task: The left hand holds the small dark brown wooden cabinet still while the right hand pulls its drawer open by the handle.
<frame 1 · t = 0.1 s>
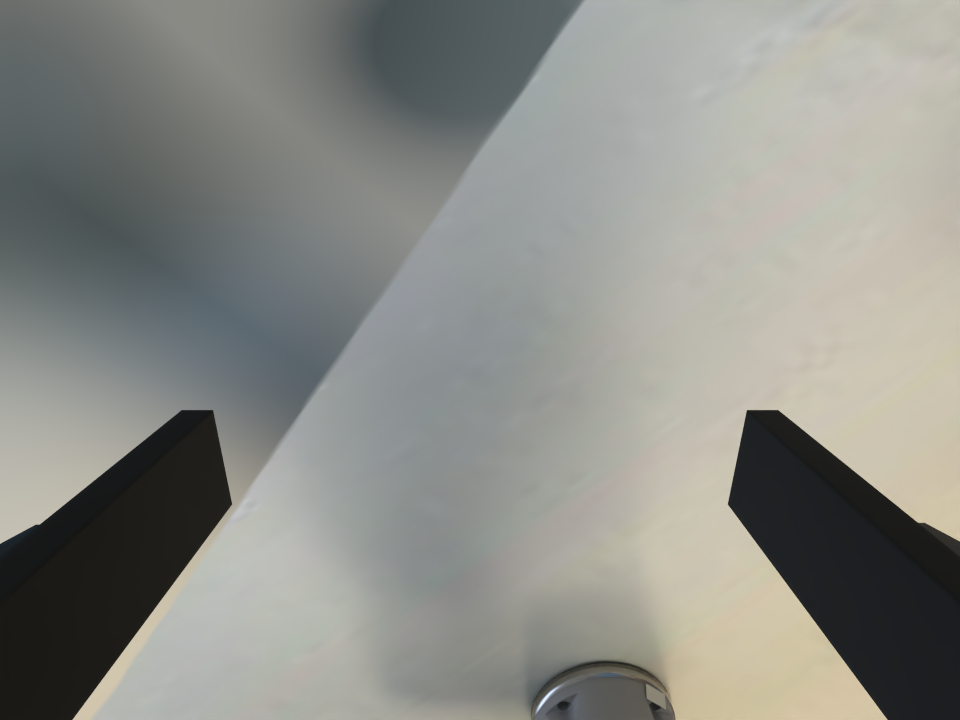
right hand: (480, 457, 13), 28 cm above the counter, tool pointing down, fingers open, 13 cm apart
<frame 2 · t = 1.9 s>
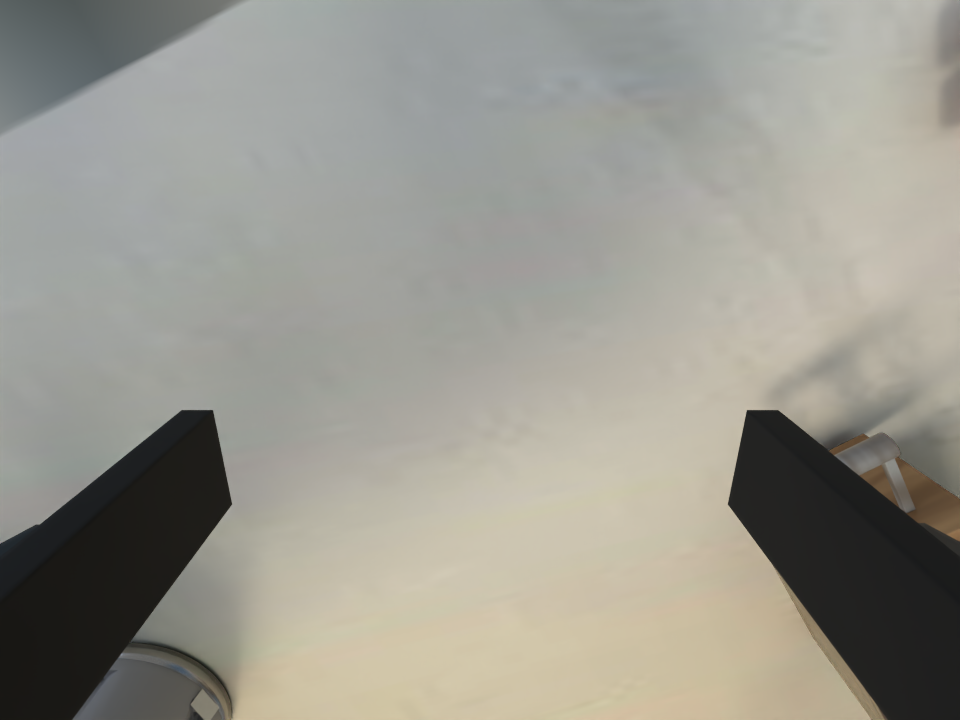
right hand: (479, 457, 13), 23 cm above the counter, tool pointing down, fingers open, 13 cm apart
cabinet: (841, 553, 43), on the counter
drawer: (867, 548, 35), point 6 cm above the counter, slide at 1.8 cm
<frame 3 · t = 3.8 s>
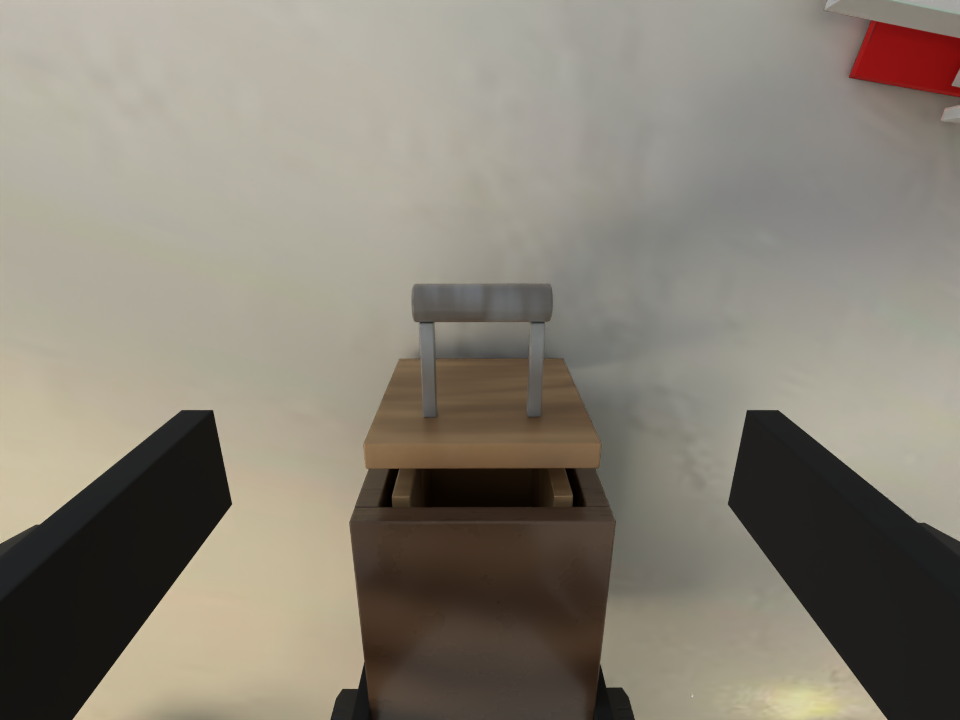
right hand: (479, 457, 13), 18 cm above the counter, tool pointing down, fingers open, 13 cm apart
cabinet: (481, 507, 34), on the counter, touching left hand
drawer: (481, 472, 26), point 6 cm above the counter, slide at 1.8 cm
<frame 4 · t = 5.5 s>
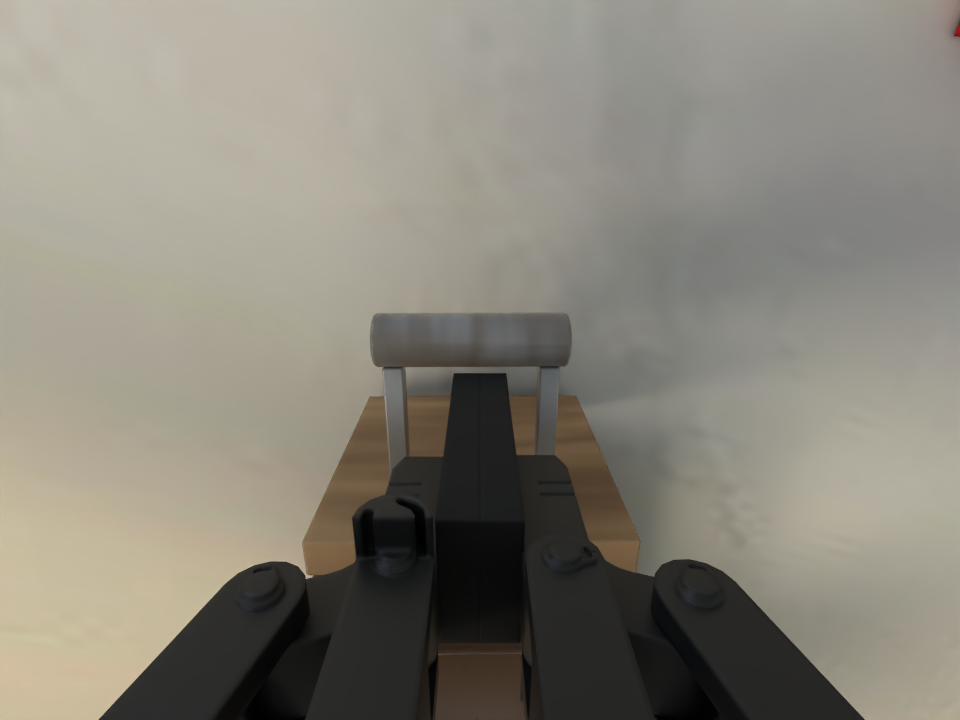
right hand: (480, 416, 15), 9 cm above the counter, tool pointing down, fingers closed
cabinet: (474, 570, 28), on the counter, touching left hand
drawer: (473, 549, 20), point 6 cm above the counter, slide at 1.8 cm, touching right hand
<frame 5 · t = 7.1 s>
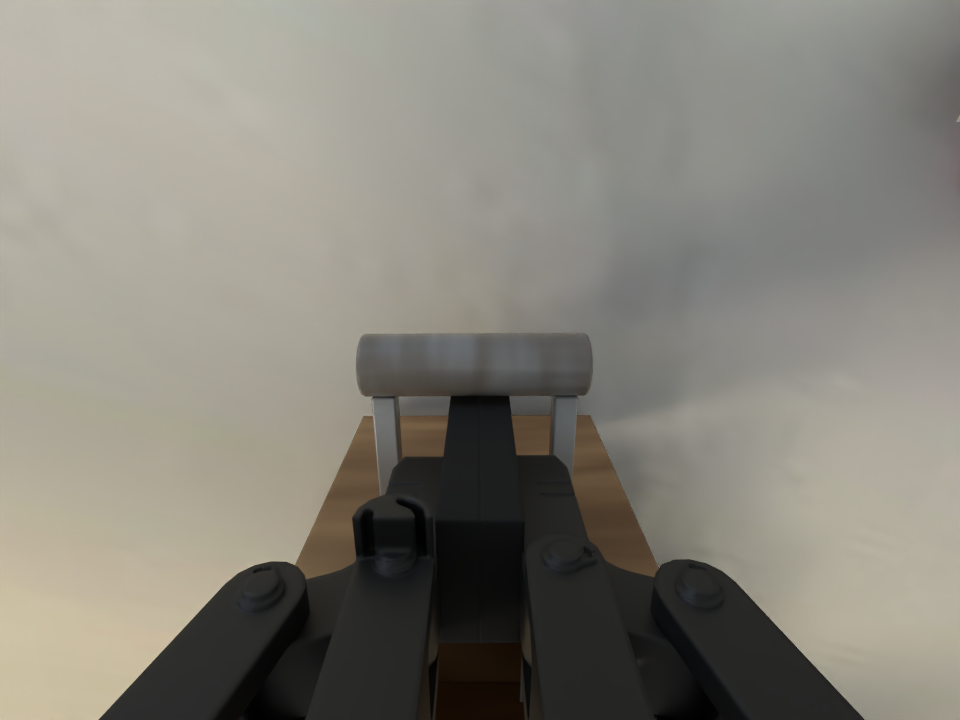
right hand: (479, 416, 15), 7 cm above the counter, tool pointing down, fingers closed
drawer: (477, 589, 18), point 6 cm above the counter, slide at 7.4 cm, touching right hand
when the left hand's fingers open (7 cm above the counter, at t = 8.9 s): cabinet stays where it is, on the counter.
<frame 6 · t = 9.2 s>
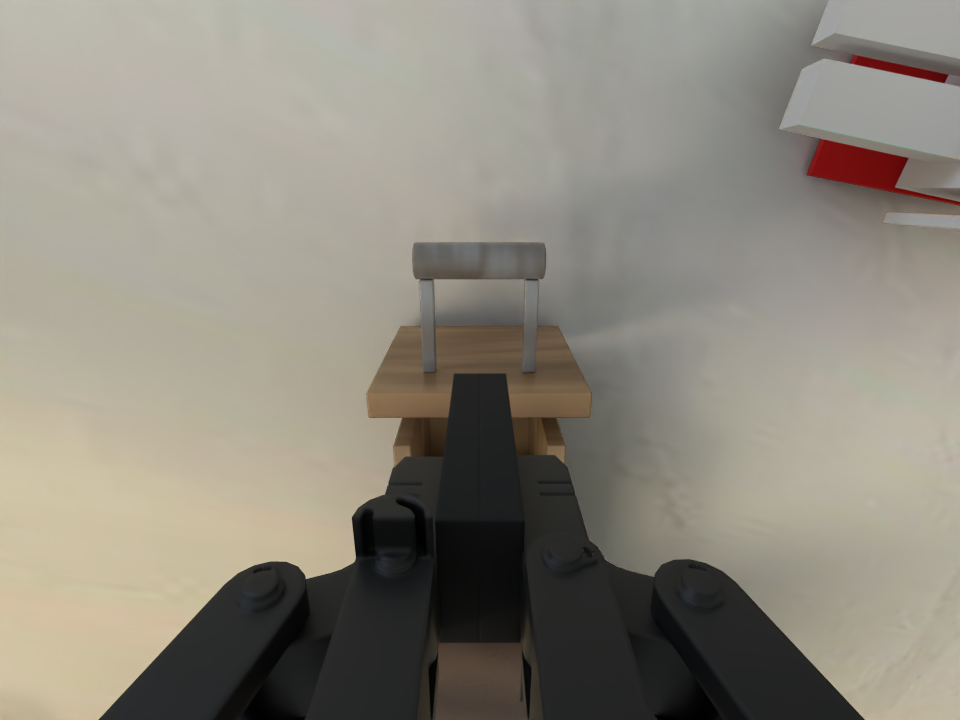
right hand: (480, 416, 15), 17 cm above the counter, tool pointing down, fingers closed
cabinet: (479, 541, 37), on the counter
drawer: (479, 431, 28), point 6 cm above the counter, slide at 7.5 cm
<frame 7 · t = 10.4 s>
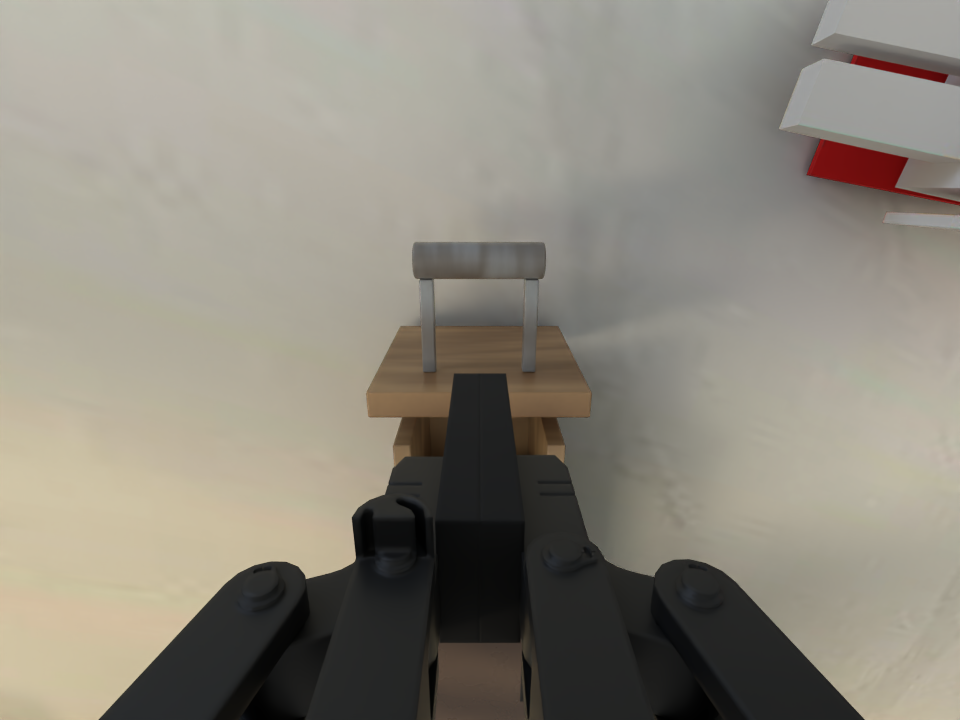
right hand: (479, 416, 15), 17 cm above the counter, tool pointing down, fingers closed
cabinet: (479, 541, 37), on the counter
drawer: (479, 431, 28), point 6 cm above the counter, slide at 7.5 cm
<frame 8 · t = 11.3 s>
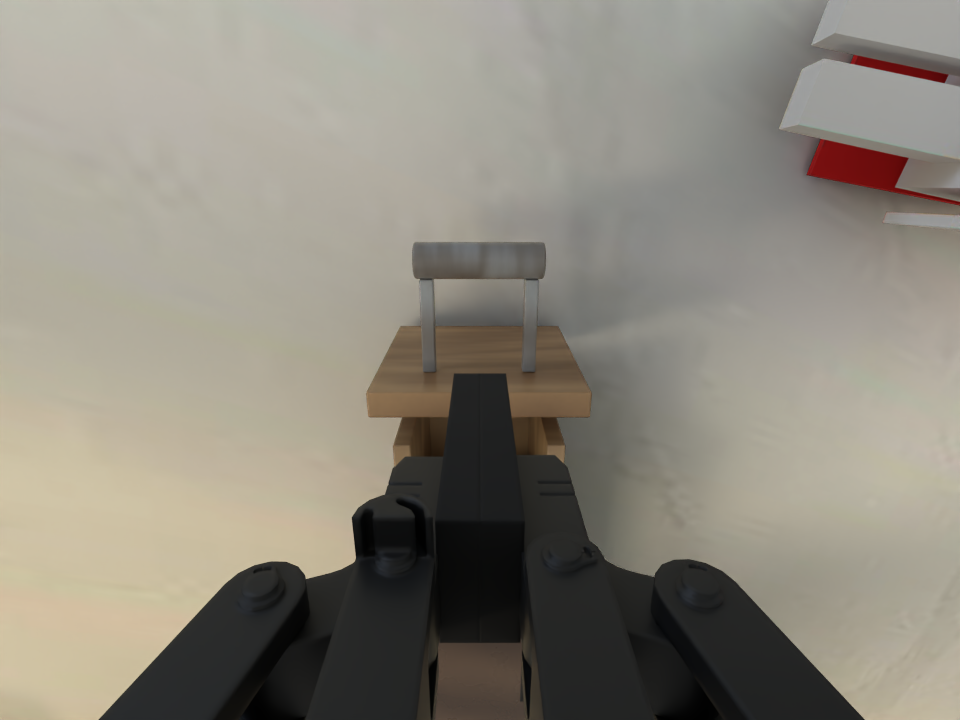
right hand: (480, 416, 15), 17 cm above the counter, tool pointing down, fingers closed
cabinet: (479, 541, 37), on the counter
drawer: (479, 431, 28), point 6 cm above the counter, slide at 7.5 cm
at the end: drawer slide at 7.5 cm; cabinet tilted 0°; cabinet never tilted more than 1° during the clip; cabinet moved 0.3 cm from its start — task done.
